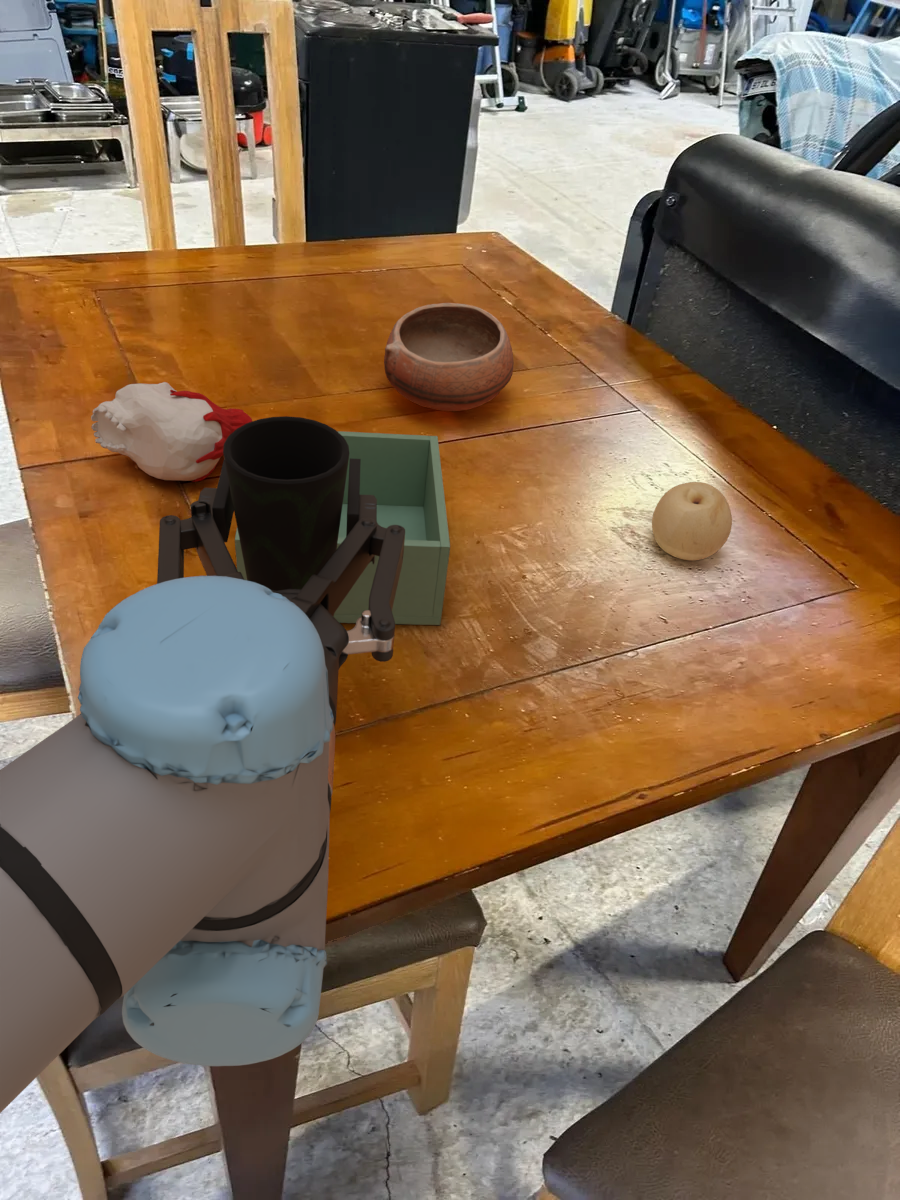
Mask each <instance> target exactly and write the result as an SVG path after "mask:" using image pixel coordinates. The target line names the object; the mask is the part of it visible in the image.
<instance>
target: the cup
mask: <svg viewBox="0 0 900 1200" xmlns="http://www.w3.org/2000/svg"><path fill="white" fill-rule="evenodd" d="M337 431H338V430H337V429H335V428H333V427H331V426H329V425H328V424H327V423H323V422H321V421H317V420H315V419H311V418H305V417H301V416H289V415H288V416H287V415H286V416H285V415H284V416H270V417H265V418H259V419H256V420H252V422H249V423H247V424H245V425H243V426H241V427H239V428H237V429H236V430H235V431H234V432H233V433H232V434H230V435H229V436H228V438H227V439H226V441H225V443H224V448H223V454H224V455H223V461H224V460H225V465H226V470H227V476H228V481H229V486H230V491H231V497H232V502H233V507H234V513H233V514H234V517H235V523H236V529H237V528H238V534H239V539H240V544H241V549H242V555H243V560H244V565H245V571H246V576H247V581H251V582H255V583H258V584H260V585H263V586H265V587H267V588H269V589H270V590H274V591H279V590H287V589H302V588H303V587H304V585H305V584H306V583H307V581H308V580H309V579H310V577H311V576H312V575H318V573H319V572H320V571H321V570H322V568H323V567H324V566H325V564H326V563H327V562H328V560H329V559H330V558H331V556H332V555H333V554H334V552H335V551H336V549H337V542H338V535H339V527H340V520H341V512H342V505H343V498H344V490H345V483H346V475H347V468H348V461H349V445H348V444H347V442H346V440H345V438H344V437H343V436H342V435H341V434H340V433H338V432H337Z"/></svg>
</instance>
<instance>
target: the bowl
mask: <svg viewBox="0 0 900 1200" xmlns="http://www.w3.org/2000/svg"><path fill="white" fill-rule="evenodd" d="M383 359H384V361H383V365H384V372H385V377H386V379H387V381H388V383H389V384H390V385H391V386H392V388H393V389H395V391H396V392H398V393H399V394H400V395H401V396H402V397H404V399H406V400H408V401H410V402H412V403H414V404H416V405H419V406H420V407H423V408H427V409H428V408H429V409H432V410H437V411H443V412H461V411H467V410H472V409H475V408H478V407H481V406H483V405H484V404H486V403H488V402H490V401H492V400H493V399H495V398H496V397H497V396H498V395H499V394H500V391H502V390H503V389H504V388H505V387H506V386H507V385H508V384H509V383H510V382H511V380H512V377H513V373H514V366H515V365H514V364H515V363H514V361H515V360H514V352H513V348H512V344H511V340H510V337H509V335H508V331H507V330H506V329H505V327H504V325H503V323H502V322H501V321H500V320H499V319H498V318H497V317H496V316H494V315H493V314H492V313H490V312H489V311H487V310H485V309H483V308H481V307H479V306H475V305H472V304H471V305H470V304H467V303H455V302H441V303H431V304H426V305H421V306H418V307H416V308H414V309H412V310H410V311H408V312H406V313H405V314H404V315H402V316H401V317H400V318H399V319H398V320H397V321H396V322H395V324H394V325H393V328H392V329H391V330H390V333H389V336H388V338H387V341H386V345H385V348H384V358H383Z"/></svg>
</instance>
